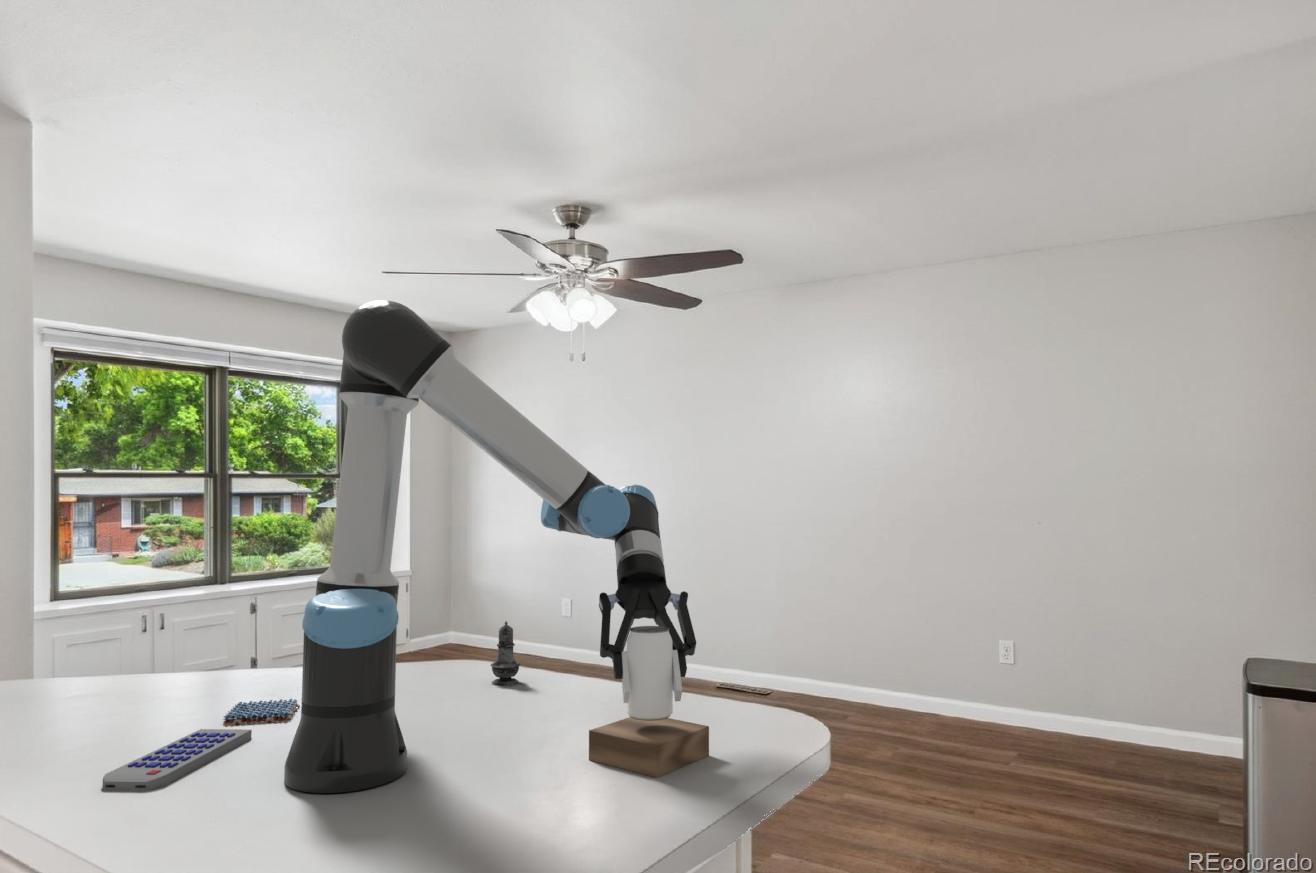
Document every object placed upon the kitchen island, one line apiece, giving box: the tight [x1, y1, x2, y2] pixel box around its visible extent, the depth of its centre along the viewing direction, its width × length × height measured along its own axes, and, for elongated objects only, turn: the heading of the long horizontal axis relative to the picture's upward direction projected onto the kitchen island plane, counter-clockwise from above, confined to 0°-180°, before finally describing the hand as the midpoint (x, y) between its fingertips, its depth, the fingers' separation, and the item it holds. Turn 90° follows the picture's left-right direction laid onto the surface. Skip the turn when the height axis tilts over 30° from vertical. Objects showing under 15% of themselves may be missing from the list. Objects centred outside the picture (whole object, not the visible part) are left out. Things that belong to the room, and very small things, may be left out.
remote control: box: [101, 728, 253, 792], centre depth 115 cm, size 8×23×2 cm, turn 178°
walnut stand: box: [588, 716, 710, 778], centre depth 117 cm, size 12×12×4 cm
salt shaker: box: [490, 620, 522, 687], centre depth 164 cm, size 6×6×12 cm
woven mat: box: [222, 698, 301, 726], centre depth 139 cm, size 10×11×2 cm
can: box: [626, 625, 674, 721], centre depth 117 cm, size 6×6×12 cm
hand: (652, 696), depth 114 cm, fingers closed on can, 6 cm apart
